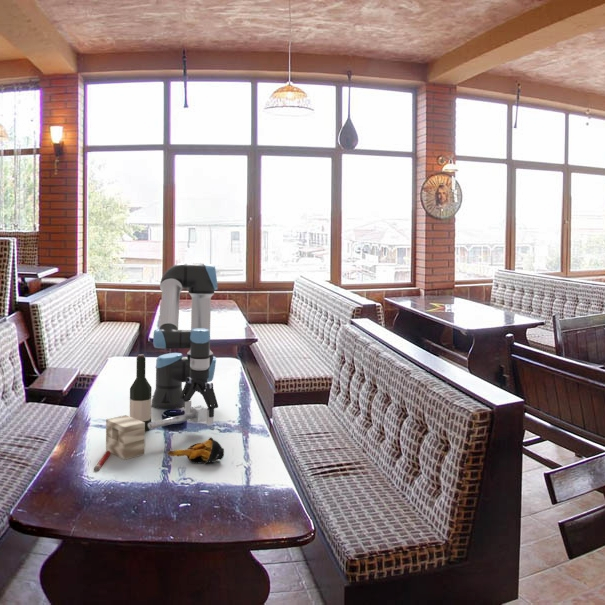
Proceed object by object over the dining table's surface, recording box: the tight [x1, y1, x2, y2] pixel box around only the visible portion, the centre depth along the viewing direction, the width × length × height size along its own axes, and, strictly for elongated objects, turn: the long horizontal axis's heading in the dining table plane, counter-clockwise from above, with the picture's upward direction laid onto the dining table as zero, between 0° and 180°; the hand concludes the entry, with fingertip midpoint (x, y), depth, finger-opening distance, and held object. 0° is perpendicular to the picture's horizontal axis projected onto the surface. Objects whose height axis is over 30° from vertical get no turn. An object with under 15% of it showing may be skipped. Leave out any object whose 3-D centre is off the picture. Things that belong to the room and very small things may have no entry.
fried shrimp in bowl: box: [166, 437, 225, 464], centre depth 213 cm, size 9×11×18 cm
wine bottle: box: [129, 353, 153, 432], centre depth 246 cm, size 8×8×30 cm
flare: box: [93, 451, 111, 472], centre depth 211 cm, size 2×15×2 cm, turn 3°
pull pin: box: [148, 405, 208, 430], centre depth 237 cm, size 5×26×5 cm, turn 138°
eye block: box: [105, 414, 146, 461], centre depth 220 cm, size 12×9×12 cm
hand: (198, 421), depth 245 cm, fingers open, 13 cm apart
